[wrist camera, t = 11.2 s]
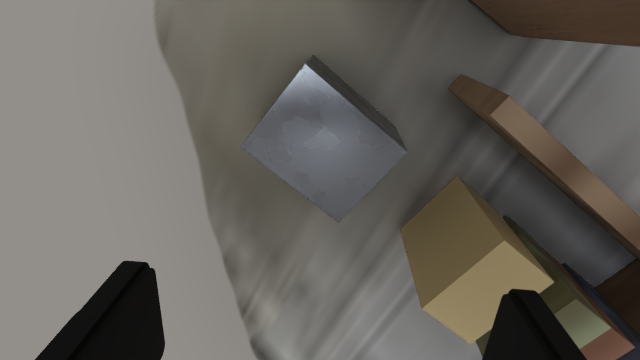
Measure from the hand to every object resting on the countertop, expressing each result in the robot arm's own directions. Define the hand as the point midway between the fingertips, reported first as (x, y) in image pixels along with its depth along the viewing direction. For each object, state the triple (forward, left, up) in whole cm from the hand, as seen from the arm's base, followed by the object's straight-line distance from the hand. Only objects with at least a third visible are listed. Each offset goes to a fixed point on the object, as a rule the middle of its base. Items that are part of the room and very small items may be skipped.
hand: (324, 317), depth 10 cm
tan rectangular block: (-11, 0, -19) cm, 22 cm away
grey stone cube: (+1, 0, -19) cm, 19 cm away
